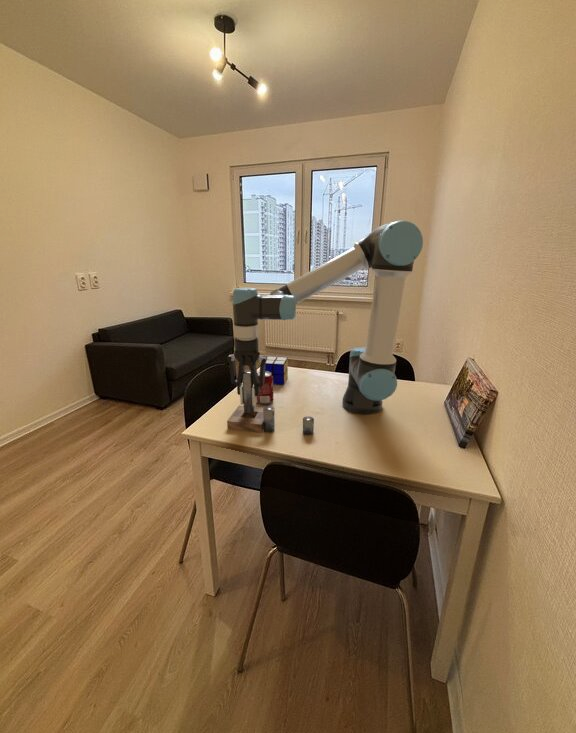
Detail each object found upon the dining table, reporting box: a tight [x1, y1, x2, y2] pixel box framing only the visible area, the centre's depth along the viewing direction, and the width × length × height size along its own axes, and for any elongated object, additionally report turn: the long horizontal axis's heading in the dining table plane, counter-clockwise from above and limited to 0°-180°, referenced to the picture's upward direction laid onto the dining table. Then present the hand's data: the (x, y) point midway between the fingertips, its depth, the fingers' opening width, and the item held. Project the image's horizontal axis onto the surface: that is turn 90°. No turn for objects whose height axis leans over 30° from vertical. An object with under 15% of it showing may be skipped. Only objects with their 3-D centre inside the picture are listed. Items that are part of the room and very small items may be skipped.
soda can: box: [257, 371, 274, 405], centre depth 127 cm, size 7×7×12 cm
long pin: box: [242, 369, 255, 412], centre depth 110 cm, size 4×4×14 cm
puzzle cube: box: [265, 356, 289, 386], centre depth 149 cm, size 10×10×10 cm
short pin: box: [302, 416, 315, 436], centre depth 106 cm, size 4×4×5 cm
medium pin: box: [263, 405, 276, 434], centre depth 107 cm, size 4×4×8 cm
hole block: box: [226, 404, 264, 433], centre depth 113 cm, size 12×12×3 cm
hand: (248, 403), depth 111 cm, fingers closed on long pin, 3 cm apart
